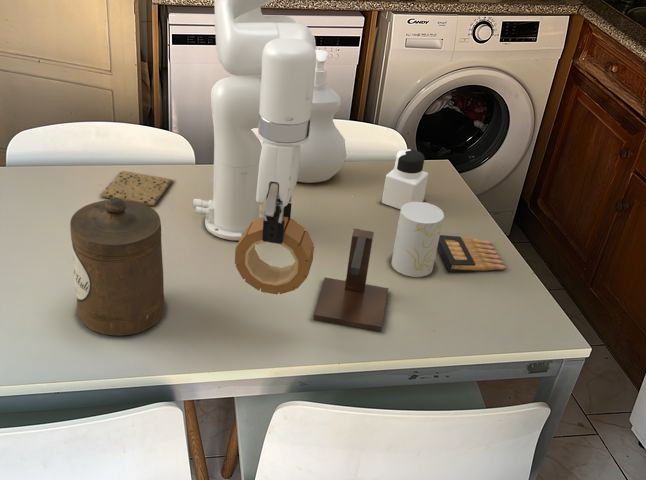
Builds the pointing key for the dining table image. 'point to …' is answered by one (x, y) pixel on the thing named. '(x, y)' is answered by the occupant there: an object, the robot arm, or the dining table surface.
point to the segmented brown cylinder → (271, 276)
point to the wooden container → (118, 266)
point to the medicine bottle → (405, 180)
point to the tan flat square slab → (137, 188)
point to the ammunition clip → (468, 254)
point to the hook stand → (353, 291)
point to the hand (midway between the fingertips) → (276, 231)
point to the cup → (417, 238)
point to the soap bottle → (322, 131)
